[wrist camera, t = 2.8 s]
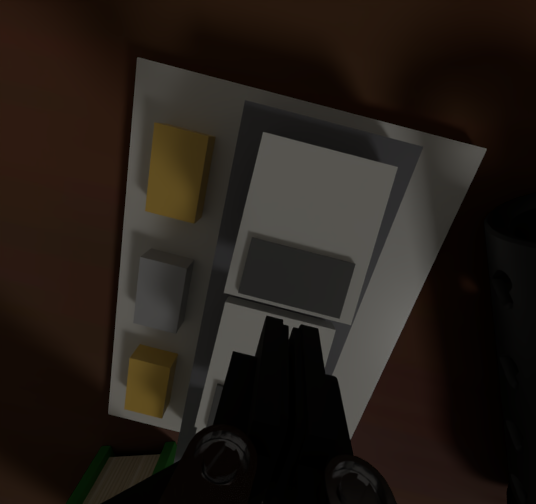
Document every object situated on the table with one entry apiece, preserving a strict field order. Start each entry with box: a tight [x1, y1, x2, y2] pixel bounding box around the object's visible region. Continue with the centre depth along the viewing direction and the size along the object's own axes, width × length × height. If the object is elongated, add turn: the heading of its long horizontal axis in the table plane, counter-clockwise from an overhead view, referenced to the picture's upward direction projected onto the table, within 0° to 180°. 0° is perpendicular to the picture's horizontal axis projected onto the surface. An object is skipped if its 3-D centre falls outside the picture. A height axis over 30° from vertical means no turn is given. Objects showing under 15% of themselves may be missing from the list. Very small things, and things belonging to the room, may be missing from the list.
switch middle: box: [194, 296, 336, 429], centre depth 16 cm, size 7×6×1 cm
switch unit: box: [108, 57, 487, 463], centre depth 20 cm, size 27×20×6 cm
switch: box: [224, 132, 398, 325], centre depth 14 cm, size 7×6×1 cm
